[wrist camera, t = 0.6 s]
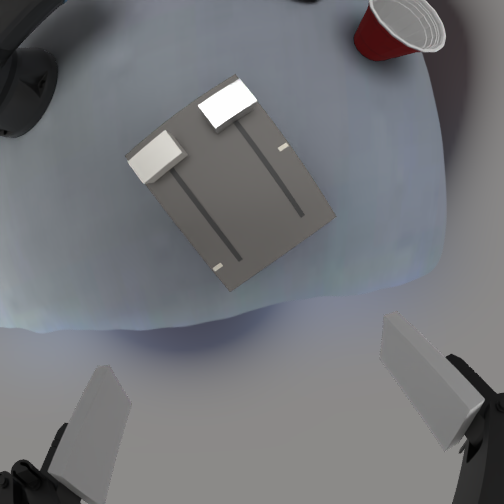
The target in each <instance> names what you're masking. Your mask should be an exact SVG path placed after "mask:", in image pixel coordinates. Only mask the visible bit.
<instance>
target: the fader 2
mask: <svg viewBox="0 0 504 504" xmlns="http://www.w3.org/2000/svg"><path fill="white" fill-rule="evenodd" d="M256 102H257V100H256V98H255V97H254V96H253V95H252V93H251V92H250V91H249V90H248V88H247V87H246V86H245V85H244V83H243V82H242V81H241V80H240V79H238V80H237V81H235V82H233V83H232V84H230V85H228V86H227V87H225V88H224V89H222V90H221V91H219V92H217V93H216V94H214V95H213V96H211V97H210V98H208V99H207V100H205V101H204V102H202V103H201V104H200V105H198V107H199V109H200V111H201V113H202V115H203V116H204V117H205V119H206V120H207V121H208V123H209V124H210V125H211V126H212V128H213V129H214V130H215V132H216V133H217V134H218V133H219V132H221V131H222V130H224V129H225V128H226V127H228V126H229V125H231V124H232V123H234V122H235V121H237V120H238V119H240V118H241V117H243V116H244V115H246V114H247V113H249V112H251V111H252V110H254V108H255V105H256Z"/></svg>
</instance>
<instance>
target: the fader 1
mask: <svg viewBox="0 0 504 504" xmlns="http://www.w3.org/2000/svg"><path fill="white" fill-rule="evenodd" d="M186 156H188V154H187V153H186V152H185V150H184V149H183V148H182V146H181V145H180V144H179V142H178V141H177V140H176V138H175V137H174V136H173V135H172V134H170V133H169V132H167V131H166V130H164V131H163V132H162V133H161V134H159V135H158V136H157V137H156V138H154V139H153V140H152V141H151V142H150V143H148V144H147V145H146V146H145V147H144V148H142V149H141V150H140V151H139V152H138V153H137V154H136V155H134V156H133V157H132V158H131V159H130V160H129V161H128V163H129V165H130V166H131V168H132V169H133V170H134V172H135V173H136V174H137V176H138V177H139V179H140V180H141V181H142V183H143V184H147V183H154V182H155V181H156V180H158V179H159V178H160V177H161V176H163V175H164V174H165V173H166V172H167V171H169V170H170V169H171V168H172V167H174V166H175V165H176V164H177V163H179V162H180V161H181V160H183V159H184V158H185V157H186Z"/></svg>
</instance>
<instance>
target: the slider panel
mask: <svg viewBox="0 0 504 504" xmlns="http://www.w3.org/2000/svg"><path fill="white" fill-rule="evenodd" d="M238 79H239V78H238V77H237V75H236V74H235V75H233V76H232V77H230V78H228V79H227V80H225V81H223V82H222V83H220V84H219V85H217V86H215V87H214V88H212V89H211V90H209V91H208V92H206V93H205V94H203V95H202V96H200V97H199V98H197V99H196V100H195V101H193V102H192V103H190V104H189V105H188V106H186V107H185V108H183V109H182V110H181V111H179V112H178V113H177V114H175V115H174V116H173V117H171V118H170V119H169V120H167V121H166V122H165V123H163V124H162V125H161V126H160V127H158V128H157V129H156V130H155V131H153V132H152V133H151V134H150V135H149V136H147V137H146V138H145V139H144V140H143V141H141V142H140V143H139V144H138V145H137V146H136V147H134V148H133V149H132V150H131V151H130V152H129V153H128V154H127V155H125V157H126V158H127V160H128V161H129V160H130V159H131V158H132V157H133V156H134V155H136V154H137V153H138V152H139V151H140V150H141V149H142V148H144V147H145V146H146V145H147V144H148V143H150V142H151V141H152V140H153V139H154V138H156V137H157V136H158V135H159V134H161V133H162V132H163V131H164V130H166V131H167V132H169V133H170V134H172V135H173V136H174V137H175V138H176V140H177V141H178V142H179V144H180V145H181V146H182V148H183V149H184V150H185V152H186V153H187V154H188V156H186V157H185V158H184V159H183V160H181V161H180V162H179V163H177V164H176V165H175V166H174V167H172V168H171V169H170V170H169V171H167V172H166V173H165V174H164V175H163V176H161V177H160V178H159V179H158V180H156V181H155V182H154V183H147V184H146V186H147V187H148V188H149V190H150V191H151V192H152V194H153V195H154V196H155V198H156V199H157V200H158V202H159V203H160V204H161V206H162V207H163V208H164V210H165V211H166V212H167V214H168V215H169V216H170V218H171V219H172V220H173V221H174V223H175V224H176V225H177V227H178V228H179V229H180V230H181V232H182V233H183V234H184V236H185V237H186V238H187V239H188V241H189V242H190V243H191V244H192V246H193V247H194V248H195V250H196V251H197V252H198V253H199V255H200V256H201V257H202V258H203V260H204V261H205V262H206V263H207V264H208V266H209V267H210V268H211V269H212V271H213V272H214V273H215V274H216V276H217V277H218V278H219V279H220V280H221V282H222V283H223V284H224V285H225V286H226V288H227V289H228V290H229V291H230V292H231V291H232V290H234V289H235V288H237V287H238V286H240V285H241V284H242V283H244V282H245V281H247V280H248V279H250V278H251V277H252V276H254V275H255V274H257V273H258V272H260V271H261V270H263V269H264V268H265V267H267V266H268V265H270V264H271V263H272V262H274V261H275V260H277V259H278V258H280V257H281V256H282V255H284V254H285V253H287V252H288V251H289V250H291V249H292V248H294V247H295V246H297V245H298V244H299V243H301V242H302V241H304V240H305V239H306V238H308V237H309V236H310V235H312V234H313V233H315V232H316V231H317V230H319V229H320V228H322V227H323V226H324V225H326V224H327V223H329V222H330V221H331V220H333V219H334V218H335V217H336V215H335V213H334V212H333V210H332V208H331V207H330V205H329V204H328V202H327V200H326V199H325V197H324V195H323V194H322V192H321V191H320V189H319V188H318V186H317V185H316V183H315V181H314V180H313V178H312V177H311V175H310V174H309V172H308V171H307V169H306V168H305V166H304V165H303V163H302V162H301V160H300V159H299V157H298V156H297V155H296V153H295V152H294V150H293V149H292V147H291V146H290V144H289V143H288V142H287V140H286V139H285V137H284V136H283V135H282V133H281V132H280V131H279V129H278V128H277V126H276V125H275V124H274V122H273V121H272V120H271V118H270V117H269V116H268V114H267V113H266V112H265V110H264V109H263V108H262V107H261V105H260V104H259V103H258V101H257V102H256V105H255V108H254V110H252V111H251V112H249V113H247V114H246V115H244V116H243V117H241V118H240V119H238V120H237V121H235V122H234V123H232V124H231V125H229V126H228V127H226V128H225V129H224V130H222V131H221V132H219V133H218V134H217V133H216V132H215V130H214V129H213V128H212V126H211V125H210V124H209V123H208V121H207V120H206V119H205V117H204V116H203V115H202V113H201V111H200V109H199V107H198V105H200V104H201V103H202V102H204V101H205V100H207V99H208V98H210V97H211V96H213V95H214V94H216V93H217V92H219V91H221V90H222V89H224V88H225V87H227V86H228V85H230V84H232V83H233V82H235V81H237V80H238Z"/></svg>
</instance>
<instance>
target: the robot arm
mask: <svg viewBox="0 0 504 504" xmlns="http://www.w3.org/2000/svg"><path fill="white" fill-rule="evenodd" d="M65 2H67V0H0V136H2V137H18V136H21V135H23V134H24V133H26V132H27V131H29V130H30V129H31V128H32V127H33V126H34V125H35V124H36V123H37V122H38V120H39V119H40V118H41V116H42V115H43V113H44V112H45V110H46V108H47V106H48V104H49V102H50V100H51V98H52V95H53V93H54V90H55V86H56V82H57V73H58V69H57V63H56V60H55V58H54V57H53V55H51V54H50V53H48V52H47V51H45V50H43V49H40V48H18V47H19V45H20V44H21V43H22V42H23V41H24V40H25V39H26V38H27V37H28V36H29V35H30V34H31V33H32V32H33V31H34V30H35V29H36V28H37V27H38V26H39V25H40V24H41V23H42V22H43V21H44V20H45V19H46V18H47V17H48V16H49V15H50V14H51V13H52V12H54V11H55V10H56V9H57V8H58V7H59V6H60V5H62V4H64V3H65ZM380 360H381V362H382V363H383V365H384V366H385V367H386V369H387V370H388V371H389V373H390V374H391V375H392V377H393V378H394V380H395V381H396V382H397V384H398V385H399V386H400V388H401V389H402V391H403V392H404V393H405V395H406V396H407V398H408V399H409V400H410V402H411V403H412V405H413V406H414V408H415V409H416V411H417V412H418V413H419V415H420V416H421V418H422V419H423V421H424V422H425V423H426V425H427V427H428V428H429V429H430V431H431V432H432V434H433V435H434V437H435V438H436V440H437V441H438V443H439V444H440V446H441V447H442V449H443V450H444V452H445V451H446V450H448V449H450V448H452V447H453V446H455V445H456V444H458V443H459V442H460V440H461V439H462V437H463V436H464V435H465V436H466V437H467V440H466V442H465V443H464V445H463V446H462V447H461V449H460V451H459V453H462V451H463V450H464V449H465V450H464V456H463V462H462V467H461V471H460V476H459V480H458V484H457V488H456V492H455V495H454V499H453V502H452V504H504V393H499V394H497V393H496V392H494V391H493V390H492V389H491V388H490V387H489V385H488V384H486V382H485V381H484V380H483V379H482V378H481V377H479V375H478V374H477V373H475V372H474V370H473V369H472V368H471V367H469V366H468V364H466V362H465V361H463V360H462V359H461V358H459V357H457V356H455V355H453V354H450V355H448V356H446V357H444V356H443V355H442V354H441V353H440V352H439V351H438V350H437V349H436V348H435V347H434V346H433V345H432V344H431V343H430V342H429V341H428V340H427V339H426V338H425V337H424V336H423V335H422V334H421V333H420V332H419V331H418V330H417V329H416V328H415V327H413V326H412V325H411V324H410V323H409V322H408V321H407V320H406V319H405V318H404V317H403V316H402V315H401V314H400V313H398V311H395V312H392V313H390V314H386V315H384V318H383V331H382V342H381V351H380ZM131 406H132V403H131V401H130V399H129V398H128V396H127V395H126V393H125V391H124V390H123V388H122V386H121V384H120V383H119V381H118V379H117V377H116V376H115V374H114V372H113V370H112V369H111V367H110V366H108V365H106V366H97V368H96V370H95V371H94V373H93V375H92V377H91V379H90V381H89V383H88V385H87V387H86V388H85V390H84V392H83V394H82V396H81V398H80V400H79V402H78V404H77V406H76V408H75V411H74V413H73V415H72V417H71V419H70V421H69V423H64V424H63V426H62V427H61V428H60V429H59V430H58V432H57V434H56V436H55V438H54V439H55V440H53V442H52V445H51V446H52V447H50V449H49V451H48V454H47V456H46V458H45V461H44V463H43V465H42V468H41V470H40V471H39V470H38V469H36V468H35V467H34V466H33V465H32V464H31V463H30V462H29V461H27V460H24V459H23V460H19V461H17V462H16V463H15V464H14V465H13V467H12V470H11V474H10V473H9V472H6V471H3V472H0V504H81V503H80V501H81V499H83V500H84V501H85V502H87V503H88V504H105V501H106V496H107V492H108V488H109V484H110V480H111V476H112V472H113V468H114V464H115V461H116V457H117V453H118V449H119V446H120V442H121V439H122V435H123V432H124V429H125V425H126V422H127V418H128V415H129V412H130V409H131Z"/></svg>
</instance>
